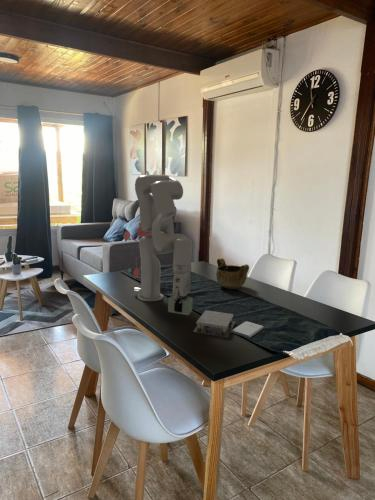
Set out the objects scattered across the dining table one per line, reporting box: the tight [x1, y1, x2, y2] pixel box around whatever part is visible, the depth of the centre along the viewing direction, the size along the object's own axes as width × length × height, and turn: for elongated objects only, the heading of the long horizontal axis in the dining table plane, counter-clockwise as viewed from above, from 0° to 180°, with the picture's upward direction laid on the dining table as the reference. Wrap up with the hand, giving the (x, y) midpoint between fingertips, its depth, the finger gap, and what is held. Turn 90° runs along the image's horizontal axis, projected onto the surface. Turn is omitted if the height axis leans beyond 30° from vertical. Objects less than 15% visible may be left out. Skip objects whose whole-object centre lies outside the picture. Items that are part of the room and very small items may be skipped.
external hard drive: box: [230, 320, 264, 339], centre depth 148 cm, size 2×8×12 cm
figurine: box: [123, 221, 162, 279], centre depth 214 cm, size 15×26×35 cm, turn 122°
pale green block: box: [167, 294, 194, 316], centre depth 155 cm, size 9×5×7 cm, turn 72°
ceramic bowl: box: [215, 257, 250, 290], centre depth 204 cm, size 22×17×15 cm
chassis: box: [192, 309, 236, 339], centre depth 150 cm, size 14×16×4 cm
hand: (180, 308), depth 156 cm, fingers closed on pale green block, 5 cm apart
